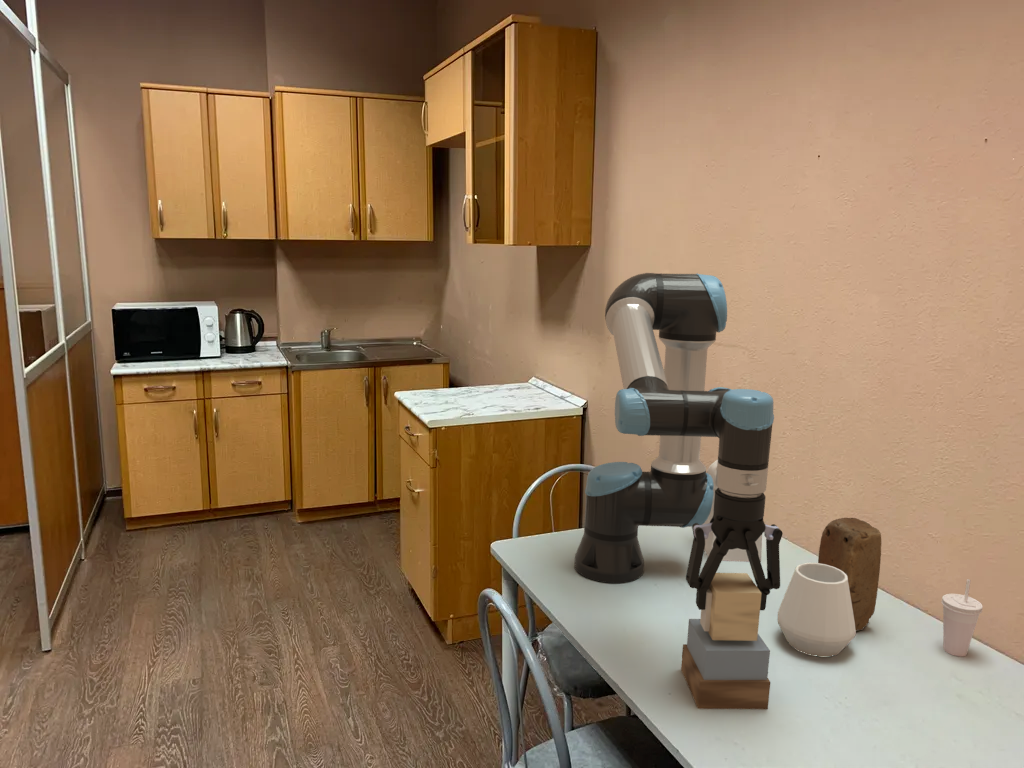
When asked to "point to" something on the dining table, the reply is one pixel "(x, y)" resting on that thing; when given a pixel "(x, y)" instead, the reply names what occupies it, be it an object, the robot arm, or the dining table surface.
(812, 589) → the white ceramic vase
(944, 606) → the smoothie
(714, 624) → the oak block
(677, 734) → the dining table surface
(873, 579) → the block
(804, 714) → the dining table surface
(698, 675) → the tower base
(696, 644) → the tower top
